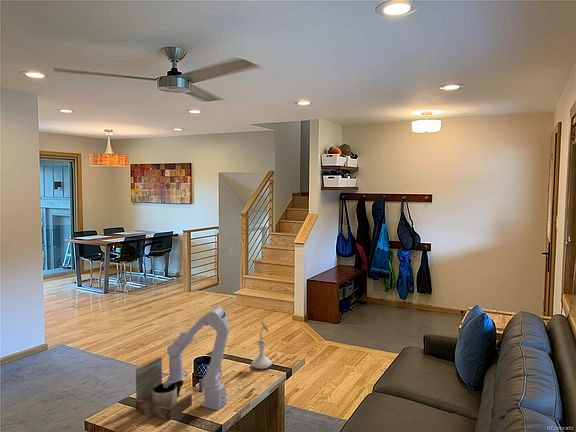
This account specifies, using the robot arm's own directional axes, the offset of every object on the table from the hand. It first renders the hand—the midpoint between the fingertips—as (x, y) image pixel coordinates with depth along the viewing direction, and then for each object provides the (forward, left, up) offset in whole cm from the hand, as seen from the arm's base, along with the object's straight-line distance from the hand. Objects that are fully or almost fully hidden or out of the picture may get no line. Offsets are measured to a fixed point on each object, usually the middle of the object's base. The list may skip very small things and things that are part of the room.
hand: (175, 396), depth 195 cm
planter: (0, +8, -2) cm, 8 cm away
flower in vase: (-16, -53, -2) cm, 55 cm away
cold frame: (0, +7, -2) cm, 7 cm away
